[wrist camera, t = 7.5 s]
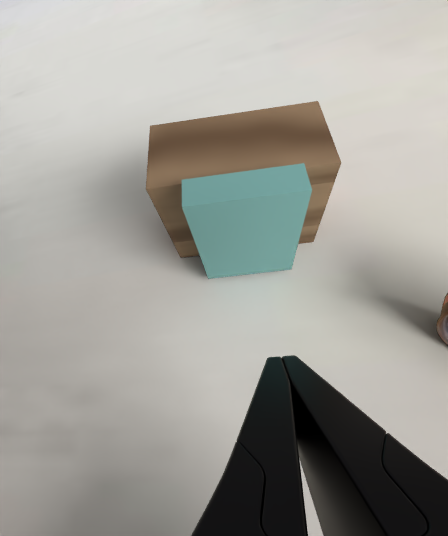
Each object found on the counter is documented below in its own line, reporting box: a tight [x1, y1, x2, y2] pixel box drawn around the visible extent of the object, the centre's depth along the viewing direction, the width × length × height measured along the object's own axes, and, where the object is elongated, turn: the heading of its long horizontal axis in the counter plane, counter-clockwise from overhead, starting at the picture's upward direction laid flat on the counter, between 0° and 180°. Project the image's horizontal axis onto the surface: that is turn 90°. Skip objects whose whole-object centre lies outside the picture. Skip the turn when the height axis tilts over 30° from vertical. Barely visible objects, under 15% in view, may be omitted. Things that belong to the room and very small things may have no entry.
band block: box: [146, 101, 341, 258], centre depth 22 cm, size 6×12×9 cm, turn 95°
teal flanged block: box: [182, 163, 312, 279], centre depth 21 cm, size 9×7×10 cm
